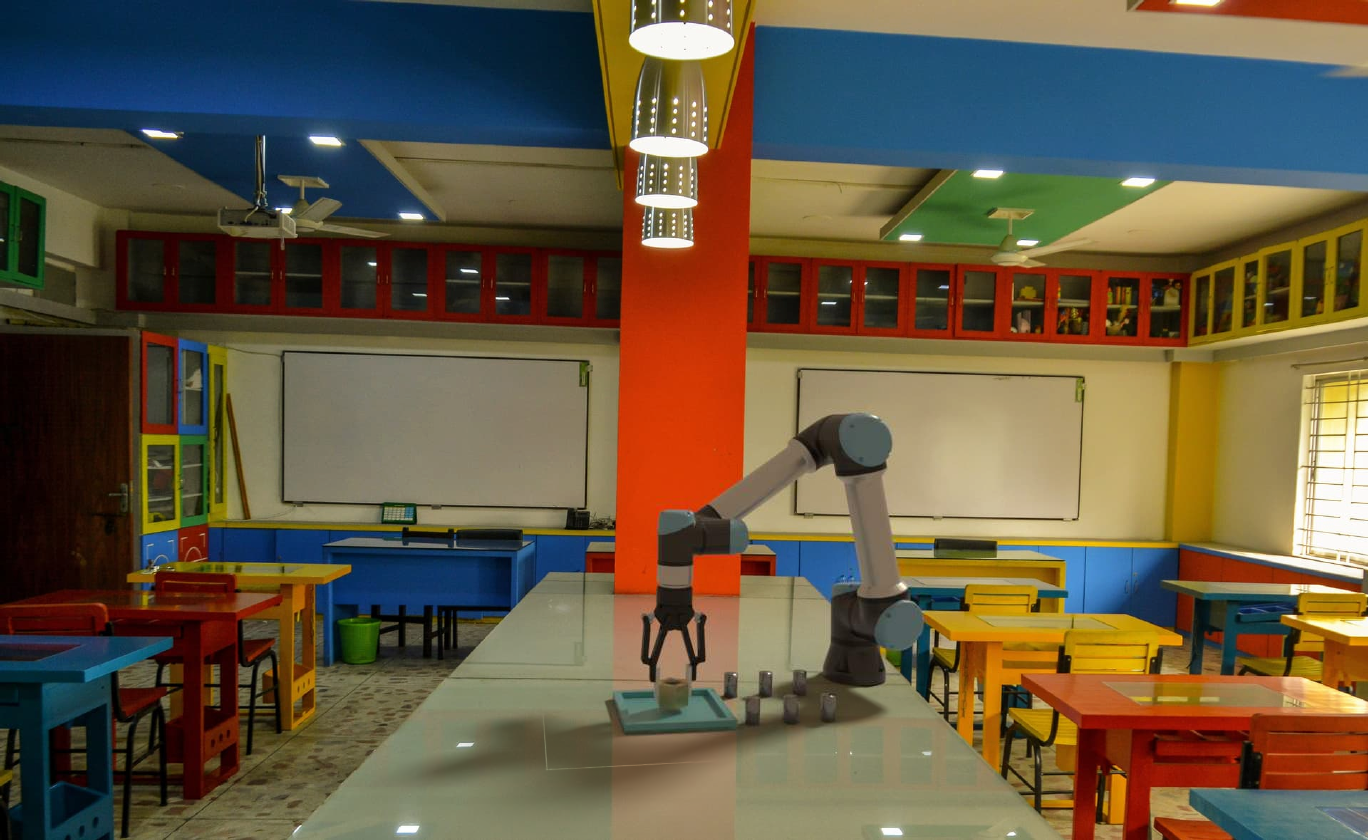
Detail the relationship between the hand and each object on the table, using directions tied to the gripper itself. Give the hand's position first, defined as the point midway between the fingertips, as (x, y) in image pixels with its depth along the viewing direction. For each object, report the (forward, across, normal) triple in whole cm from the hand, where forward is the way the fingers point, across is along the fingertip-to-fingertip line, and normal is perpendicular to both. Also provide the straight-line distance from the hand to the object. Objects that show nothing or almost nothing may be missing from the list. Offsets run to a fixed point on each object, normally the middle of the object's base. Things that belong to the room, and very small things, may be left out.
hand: (672, 696), depth 173 cm
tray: (+3, 0, 0) cm, 3 cm away
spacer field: (+3, -23, -1) cm, 23 cm away
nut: (+1, 0, 0) cm, 1 cm away
